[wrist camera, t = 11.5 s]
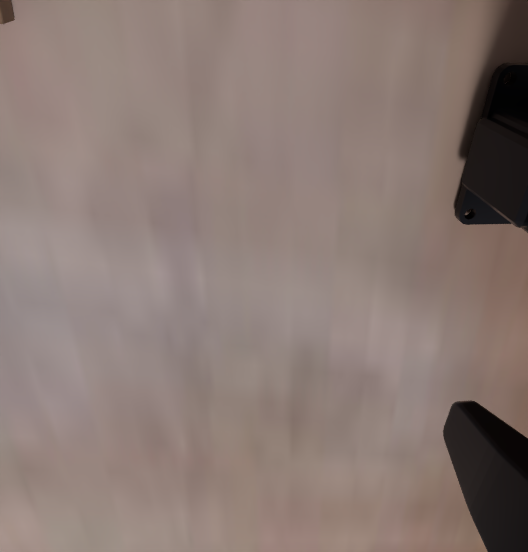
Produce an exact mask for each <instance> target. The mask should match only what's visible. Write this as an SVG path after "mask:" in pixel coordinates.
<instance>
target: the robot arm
mask: <svg viewBox="0 0 528 552" xmlns="http://www.w3.org/2000/svg"><path fill="white" fill-rule="evenodd" d="M509 72H510V73H511V77H510V79H509V81H508V82H507V83H505V84H504V78H505V76H506V75H507V74H508V73H509ZM462 183H463V184H462V187H461V191H460V195H459V198H458V202H457V205H456V209H455V216H456V218H457V219H458V220H459V221H460V222H462V223H463V224H467V225H470V224H513V225H515V226H516V227H519V228H522V229H523V230H525V231H526V232H527V233H528V64H526V63H505V64H502V65H501V66H499V67H498V68H497V69H496V70H495V72H494V74H493V76H492V79H491V83H490V87H489V90H488V94H487V97H486V101H485V105H484V108H483V112H482V115H481V119H480V121H479V122H478V123H477V126H476V129H475V133H474V136H473V140H472V144H471V147H470V151H469V155H468V158H467V162H466V165H465V169H464V173H463V176H462ZM469 209H471V211H470V213H469V214H468V215H465V213H466V211H467V210H469ZM443 436H444V440H445V443H446V446H447V449H448V452H449V455H450V458H451V461H452V464H453V466H454V469H455V472H456V475H457V478H458V481H459V484H460V487H461V490H462V493H463V495H464V498H465V501H466V504H467V506H468V509H469V511H470V514H471V516H472V518H473V521H474V523H475V525H476V527H477V529H478V532H479V534H480V536H481V538H482V540H483V542H484V545H485V547H486V549H487V551H488V552H528V438H526V437H525V436H523V435H522V434H521V433H519V432H518V431H516V430H515V429H514V428H512V427H511V426H509V425H508V424H506V423H505V422H504V421H502V420H501V419H499V418H498V417H497V416H495V415H494V414H492V413H491V412H490V411H488V410H487V409H485V408H484V407H482V406H481V405H480V404H478V403H477V402H475V401H457V402H455V403H454V404H452V406H451V409H450V412H449V414H448V417H447V420H446V423H445V426H444V430H443Z"/></svg>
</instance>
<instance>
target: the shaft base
mask: <svg viewBox="0 0 528 552" xmlns="http://www.w3.org/2000/svg"><path fill="white" fill-rule="evenodd" d="M13 20H14V14H13V9H12V4H11V0H0V24H4V23H7V22H10V21H13Z"/></svg>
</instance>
